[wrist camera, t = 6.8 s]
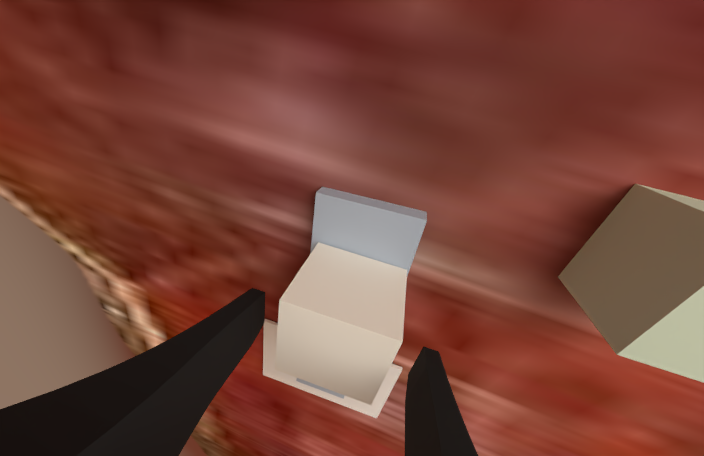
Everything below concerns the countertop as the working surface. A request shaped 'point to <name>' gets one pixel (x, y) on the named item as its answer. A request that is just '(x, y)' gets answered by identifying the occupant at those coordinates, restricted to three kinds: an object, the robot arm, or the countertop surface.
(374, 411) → the page
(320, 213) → the base brick
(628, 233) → the pale green cube
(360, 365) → the brick
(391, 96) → the countertop surface
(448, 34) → the countertop surface
